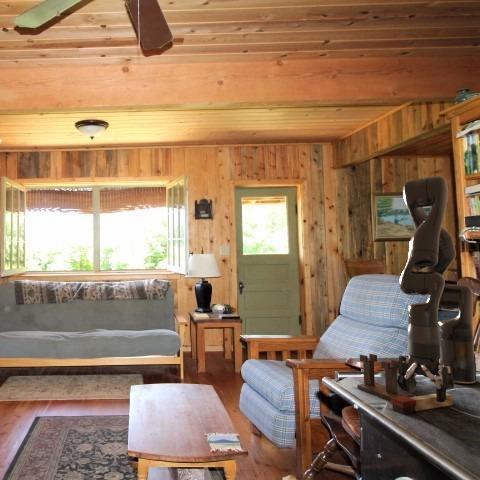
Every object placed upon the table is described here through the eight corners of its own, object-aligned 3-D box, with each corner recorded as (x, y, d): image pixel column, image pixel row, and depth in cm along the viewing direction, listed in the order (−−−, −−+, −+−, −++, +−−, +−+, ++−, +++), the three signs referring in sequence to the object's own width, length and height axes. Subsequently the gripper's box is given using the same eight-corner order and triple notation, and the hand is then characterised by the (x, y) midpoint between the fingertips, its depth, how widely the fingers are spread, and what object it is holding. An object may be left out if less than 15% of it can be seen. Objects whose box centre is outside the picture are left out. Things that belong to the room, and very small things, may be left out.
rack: (356, 388, 135) (355, 355, 135) (375, 385, 137) (374, 353, 137) (393, 402, 122) (392, 365, 122) (414, 399, 124) (412, 363, 125)
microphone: (377, 383, 149) (406, 394, 129) (370, 367, 150) (398, 376, 130) (392, 378, 148) (423, 389, 129) (385, 363, 149) (415, 371, 130)
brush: (442, 401, 122) (442, 390, 122) (455, 405, 118) (455, 394, 119) (391, 409, 116) (390, 397, 116) (403, 414, 113) (402, 401, 113)
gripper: (459, 344, 113) (461, 404, 112) (409, 335, 126) (411, 388, 126) (439, 346, 110) (441, 407, 110) (391, 336, 124) (392, 390, 123)
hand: (425, 397), depth 118 cm, fingers open, 8 cm apart
